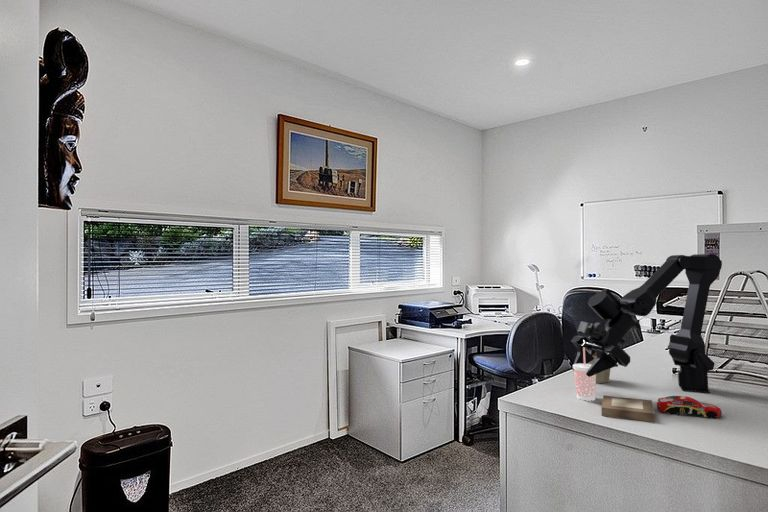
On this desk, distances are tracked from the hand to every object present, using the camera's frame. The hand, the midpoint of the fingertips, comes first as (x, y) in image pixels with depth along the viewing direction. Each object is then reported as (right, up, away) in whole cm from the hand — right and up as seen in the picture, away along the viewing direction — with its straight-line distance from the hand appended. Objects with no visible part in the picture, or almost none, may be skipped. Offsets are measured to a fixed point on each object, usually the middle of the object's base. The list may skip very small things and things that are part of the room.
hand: (580, 372), depth 123 cm
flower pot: (+13, -7, +18) cm, 23 cm away
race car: (+20, -7, -14) cm, 26 cm away
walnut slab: (+7, -7, -12) cm, 15 cm away
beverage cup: (+2, -7, 0) cm, 7 cm away
